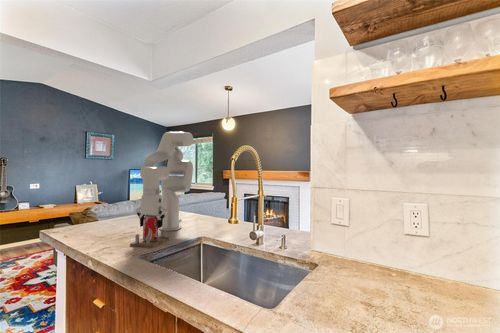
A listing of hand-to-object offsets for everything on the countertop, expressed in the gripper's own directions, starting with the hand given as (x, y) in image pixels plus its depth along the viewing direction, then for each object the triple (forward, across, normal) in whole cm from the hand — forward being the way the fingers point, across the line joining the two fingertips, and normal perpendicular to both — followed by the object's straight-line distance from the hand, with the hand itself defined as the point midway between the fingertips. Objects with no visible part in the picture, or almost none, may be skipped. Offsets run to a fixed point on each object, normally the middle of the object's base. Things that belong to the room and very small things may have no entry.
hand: (151, 226), depth 122 cm
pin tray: (+8, 0, +1) cm, 8 cm away
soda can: (+7, 0, 0) cm, 7 cm away
